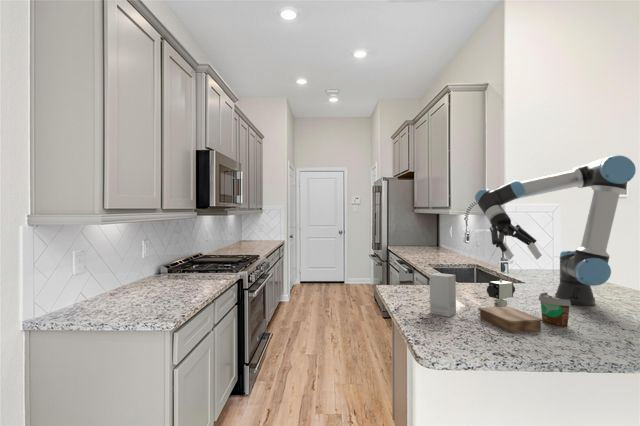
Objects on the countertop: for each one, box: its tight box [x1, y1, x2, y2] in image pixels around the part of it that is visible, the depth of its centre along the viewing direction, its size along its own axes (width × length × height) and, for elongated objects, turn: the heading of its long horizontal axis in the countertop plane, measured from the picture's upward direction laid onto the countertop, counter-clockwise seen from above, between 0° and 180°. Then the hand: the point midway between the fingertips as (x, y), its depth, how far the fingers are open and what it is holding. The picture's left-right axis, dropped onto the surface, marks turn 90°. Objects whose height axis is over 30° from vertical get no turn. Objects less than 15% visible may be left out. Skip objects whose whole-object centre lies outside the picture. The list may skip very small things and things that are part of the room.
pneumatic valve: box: [486, 279, 516, 307], centre depth 154 cm, size 6×12×12 cm, turn 114°
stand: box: [478, 306, 543, 333], centre depth 131 cm, size 13×17×4 cm
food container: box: [538, 292, 572, 328], centre depth 133 cm, size 12×6×10 cm, turn 5°
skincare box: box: [429, 272, 457, 318], centre depth 144 cm, size 8×7×16 cm
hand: (525, 257), depth 144 cm, fingers open, 13 cm apart
